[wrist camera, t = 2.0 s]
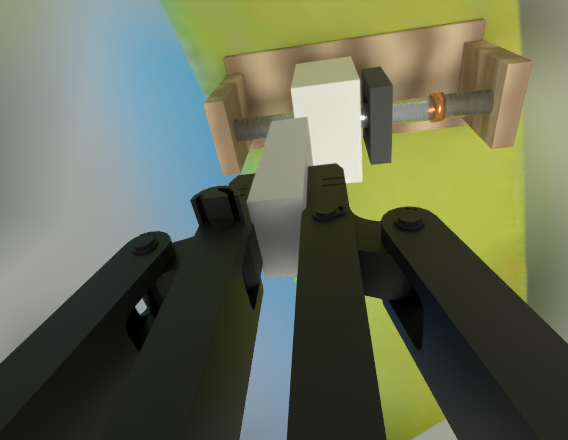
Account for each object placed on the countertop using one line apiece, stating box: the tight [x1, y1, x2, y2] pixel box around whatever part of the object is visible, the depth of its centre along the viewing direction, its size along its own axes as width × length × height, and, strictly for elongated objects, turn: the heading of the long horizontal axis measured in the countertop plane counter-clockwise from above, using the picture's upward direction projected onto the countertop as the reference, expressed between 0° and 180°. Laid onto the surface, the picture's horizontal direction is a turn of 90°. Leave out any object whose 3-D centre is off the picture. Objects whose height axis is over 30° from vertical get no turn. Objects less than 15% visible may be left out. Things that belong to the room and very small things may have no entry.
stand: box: [204, 19, 533, 175], centre depth 41 cm, size 30×12×12 cm, turn 98°
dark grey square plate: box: [362, 67, 393, 165], centre depth 37 cm, size 2×8×8 cm, turn 8°
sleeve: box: [291, 56, 362, 183], centre depth 38 cm, size 6×10×10 cm, turn 8°
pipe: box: [233, 89, 494, 142], centre depth 37 cm, size 28×3×3 cm, turn 98°
